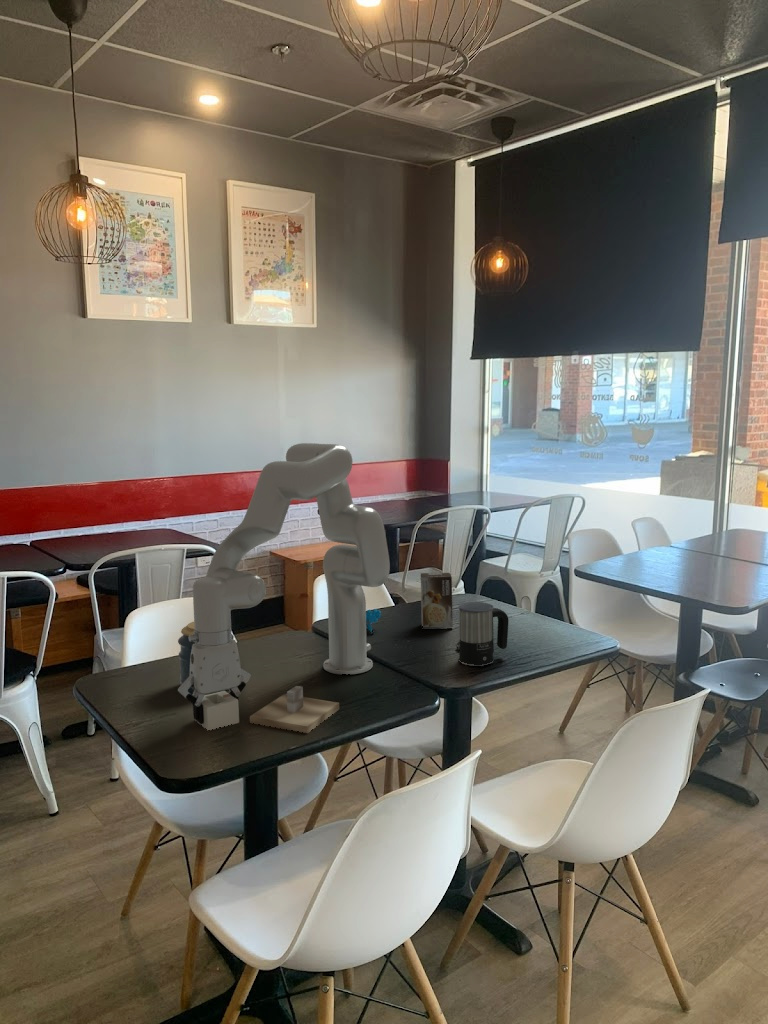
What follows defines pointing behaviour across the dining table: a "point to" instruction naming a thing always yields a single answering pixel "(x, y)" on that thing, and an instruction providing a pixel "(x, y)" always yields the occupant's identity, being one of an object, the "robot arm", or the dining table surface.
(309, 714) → the base
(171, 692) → the dining table surface
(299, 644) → the dining table surface
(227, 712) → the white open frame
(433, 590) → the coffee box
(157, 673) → the dining table surface
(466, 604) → the milk frother
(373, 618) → the blue green toy
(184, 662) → the canister
